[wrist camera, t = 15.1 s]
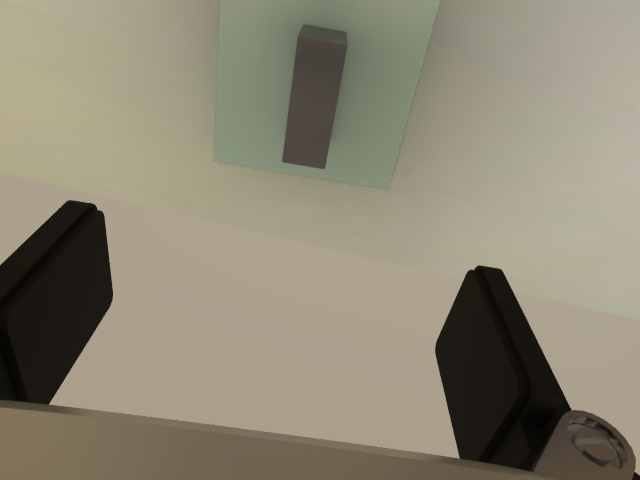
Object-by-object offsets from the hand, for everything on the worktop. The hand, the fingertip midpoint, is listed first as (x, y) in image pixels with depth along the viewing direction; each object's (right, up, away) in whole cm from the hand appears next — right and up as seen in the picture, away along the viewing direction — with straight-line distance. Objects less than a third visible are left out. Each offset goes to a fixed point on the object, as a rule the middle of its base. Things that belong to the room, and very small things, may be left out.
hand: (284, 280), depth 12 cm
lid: (+1, +12, +19) cm, 23 cm away
